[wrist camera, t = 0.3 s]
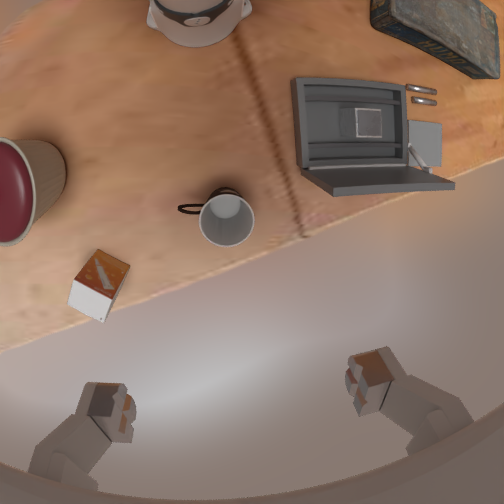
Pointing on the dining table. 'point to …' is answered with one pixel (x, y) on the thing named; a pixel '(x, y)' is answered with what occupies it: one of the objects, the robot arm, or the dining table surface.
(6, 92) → the dining table surface
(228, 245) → the coffee mug
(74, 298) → the small box
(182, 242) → the dining table surface
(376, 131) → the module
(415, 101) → the rods
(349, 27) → the dining table surface
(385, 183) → the case
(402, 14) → the metal box
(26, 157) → the canister
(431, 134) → the pad
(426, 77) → the dining table surface
